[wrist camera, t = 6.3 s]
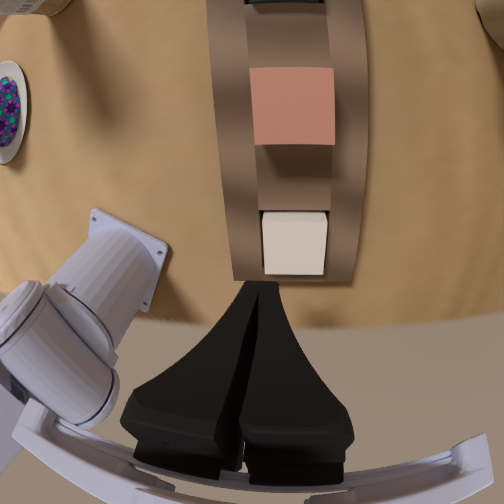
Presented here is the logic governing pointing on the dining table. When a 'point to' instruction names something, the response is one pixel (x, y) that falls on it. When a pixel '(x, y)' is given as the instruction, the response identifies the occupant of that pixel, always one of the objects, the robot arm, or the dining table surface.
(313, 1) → the blue key
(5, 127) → the purple domed brimmed piece
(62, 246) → the dining table surface
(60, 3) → the sprinkles bottle
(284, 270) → the white key
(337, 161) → the board
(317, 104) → the brick key
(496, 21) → the flower pot
